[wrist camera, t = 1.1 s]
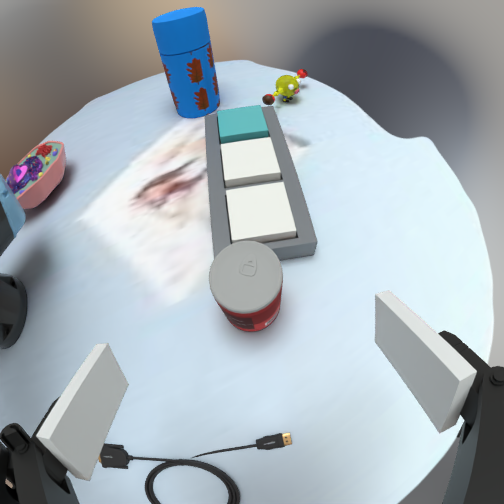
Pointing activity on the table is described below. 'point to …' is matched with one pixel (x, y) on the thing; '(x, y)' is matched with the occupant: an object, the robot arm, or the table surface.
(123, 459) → the cable
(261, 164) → the key middle
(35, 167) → the cell model
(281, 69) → the table surface
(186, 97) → the thermos
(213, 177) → the keypad frame
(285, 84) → the toy figure
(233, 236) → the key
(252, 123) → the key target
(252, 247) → the canned food
